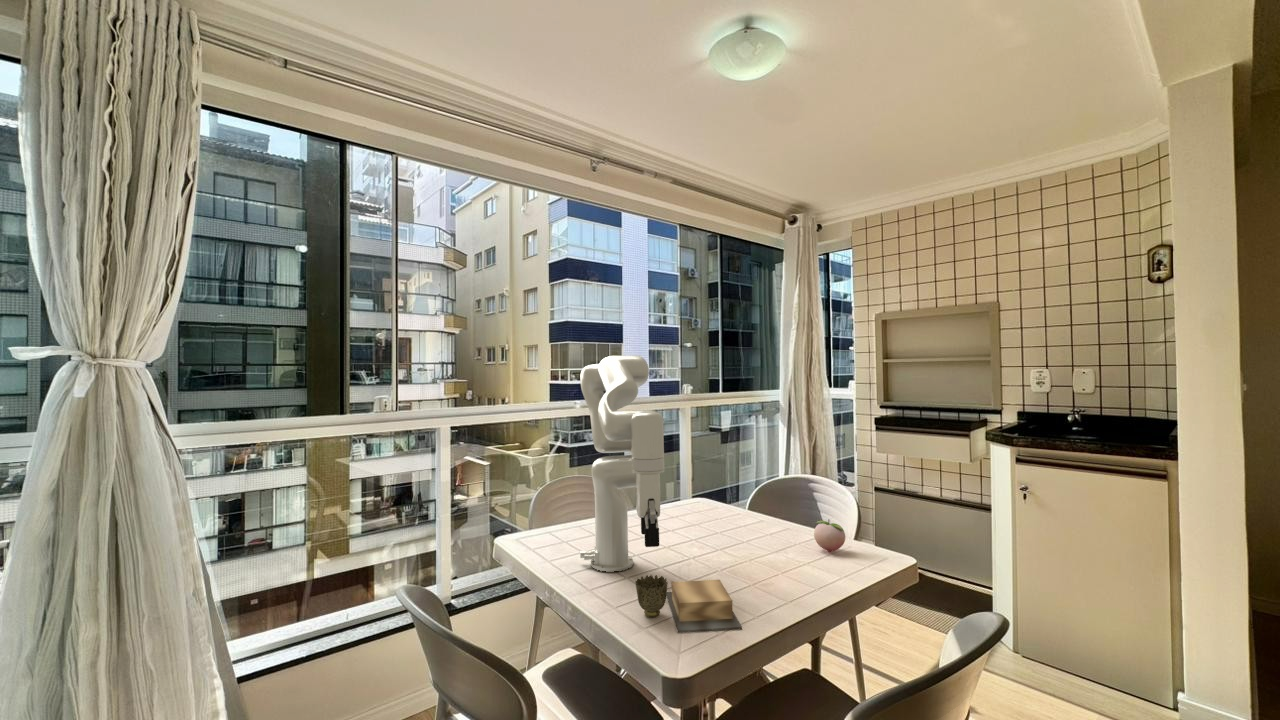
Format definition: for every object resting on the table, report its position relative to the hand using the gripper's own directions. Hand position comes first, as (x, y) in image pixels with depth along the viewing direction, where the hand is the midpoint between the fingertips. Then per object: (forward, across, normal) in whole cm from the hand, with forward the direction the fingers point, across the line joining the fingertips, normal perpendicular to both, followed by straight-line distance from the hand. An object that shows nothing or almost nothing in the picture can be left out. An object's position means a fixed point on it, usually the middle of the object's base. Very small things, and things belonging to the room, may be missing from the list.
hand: (649, 539), depth 119 cm
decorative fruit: (+17, -36, +59) cm, 71 cm away
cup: (+18, 0, 0) cm, 18 cm away
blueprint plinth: (+17, -2, +12) cm, 21 cm away
